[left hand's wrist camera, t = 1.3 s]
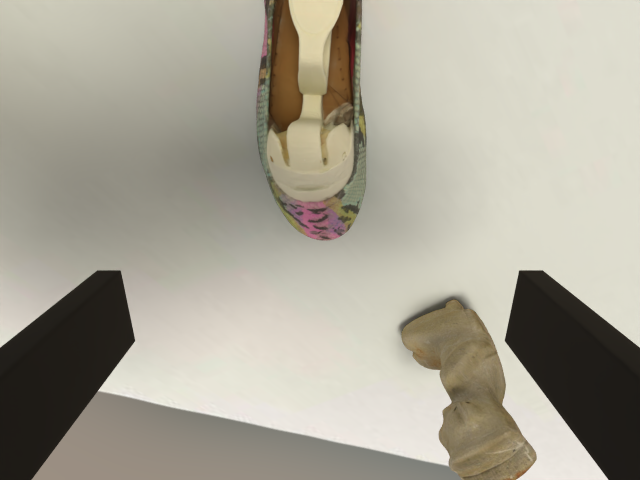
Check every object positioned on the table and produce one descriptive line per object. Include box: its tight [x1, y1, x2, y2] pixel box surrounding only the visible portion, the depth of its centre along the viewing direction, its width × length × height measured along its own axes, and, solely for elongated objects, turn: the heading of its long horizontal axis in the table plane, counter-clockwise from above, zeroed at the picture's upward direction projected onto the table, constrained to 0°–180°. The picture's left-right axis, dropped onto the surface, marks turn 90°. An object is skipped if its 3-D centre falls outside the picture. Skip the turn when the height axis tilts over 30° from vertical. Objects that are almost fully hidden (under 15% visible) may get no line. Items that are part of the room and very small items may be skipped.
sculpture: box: [401, 300, 537, 480], centre depth 30 cm, size 6×7×15 cm
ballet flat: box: [257, 0, 366, 240], centre depth 26 cm, size 8×24×9 cm, turn 0°
